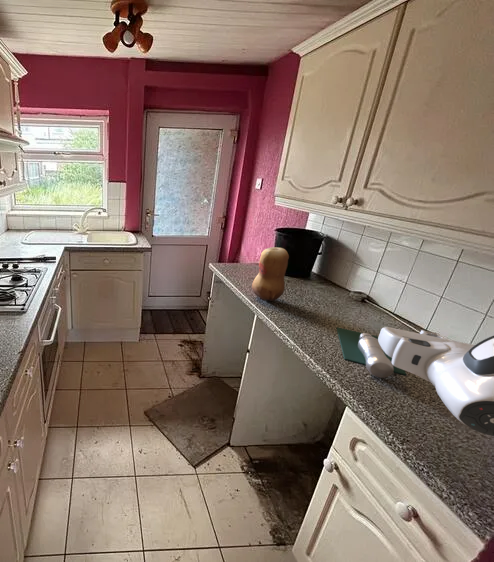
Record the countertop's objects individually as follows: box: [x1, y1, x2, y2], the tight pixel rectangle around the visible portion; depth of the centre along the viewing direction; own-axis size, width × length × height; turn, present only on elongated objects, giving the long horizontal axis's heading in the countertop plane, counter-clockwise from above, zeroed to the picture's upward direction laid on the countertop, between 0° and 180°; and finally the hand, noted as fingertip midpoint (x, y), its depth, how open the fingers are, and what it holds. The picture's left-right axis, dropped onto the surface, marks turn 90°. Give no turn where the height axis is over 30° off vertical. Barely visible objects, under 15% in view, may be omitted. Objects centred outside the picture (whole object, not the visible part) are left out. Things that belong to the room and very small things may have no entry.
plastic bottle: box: [358, 332, 394, 379], centre depth 100 cm, size 6×7×20 cm
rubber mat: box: [336, 326, 407, 376], centre depth 109 cm, size 24×16×1 cm, turn 152°
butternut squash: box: [251, 246, 290, 302], centre depth 142 cm, size 14×13×25 cm
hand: (428, 334), depth 72 cm, fingers closed
